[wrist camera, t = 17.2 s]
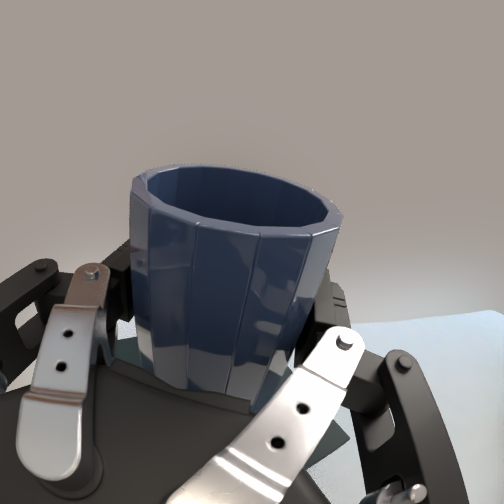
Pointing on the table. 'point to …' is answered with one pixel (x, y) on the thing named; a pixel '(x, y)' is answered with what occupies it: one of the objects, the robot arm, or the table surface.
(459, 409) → the table surface
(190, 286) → the cup
